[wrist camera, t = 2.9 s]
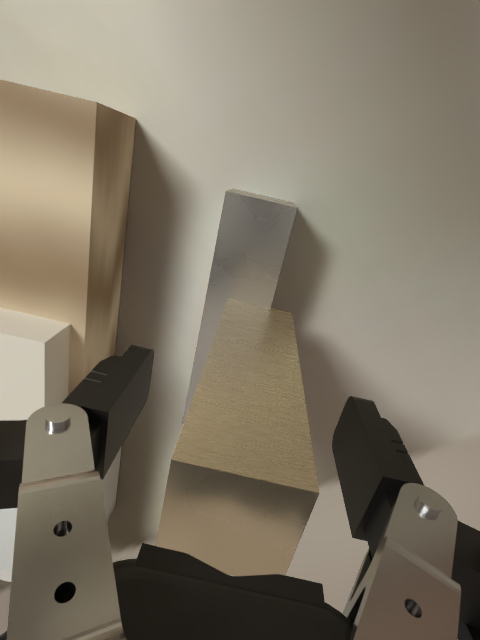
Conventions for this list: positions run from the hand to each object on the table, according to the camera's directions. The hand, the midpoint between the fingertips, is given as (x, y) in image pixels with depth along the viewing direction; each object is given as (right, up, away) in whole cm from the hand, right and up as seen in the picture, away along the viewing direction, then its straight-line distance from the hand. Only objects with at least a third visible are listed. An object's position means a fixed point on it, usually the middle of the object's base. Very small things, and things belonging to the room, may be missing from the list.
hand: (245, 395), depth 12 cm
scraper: (0, +3, +7) cm, 8 cm away
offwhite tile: (-11, +1, +5) cm, 12 cm away
